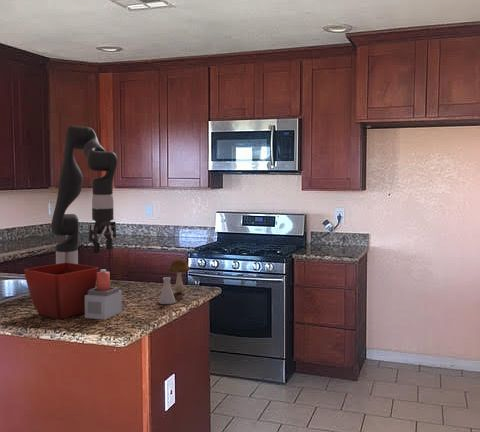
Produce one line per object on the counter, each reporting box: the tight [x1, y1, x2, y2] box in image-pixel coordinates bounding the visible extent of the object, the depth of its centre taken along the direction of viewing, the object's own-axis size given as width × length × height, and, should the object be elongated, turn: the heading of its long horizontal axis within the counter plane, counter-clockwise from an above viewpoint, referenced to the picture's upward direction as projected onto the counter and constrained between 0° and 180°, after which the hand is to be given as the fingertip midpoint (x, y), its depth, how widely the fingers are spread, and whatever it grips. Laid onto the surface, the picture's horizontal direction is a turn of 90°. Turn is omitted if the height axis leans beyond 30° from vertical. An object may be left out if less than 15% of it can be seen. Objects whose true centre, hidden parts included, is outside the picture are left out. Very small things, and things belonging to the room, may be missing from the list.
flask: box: [157, 276, 176, 305], centre depth 227 cm, size 7×7×10 cm
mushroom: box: [168, 258, 191, 294], centre depth 246 cm, size 9×11×15 cm
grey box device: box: [84, 286, 123, 320], centre depth 207 cm, size 8×12×10 cm, turn 162°
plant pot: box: [23, 263, 99, 320], centre depth 209 cm, size 19×19×17 cm
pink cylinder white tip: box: [96, 269, 111, 291], centre depth 207 cm, size 5×5×8 cm
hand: (103, 251), depth 207 cm, fingers open, 8 cm apart
